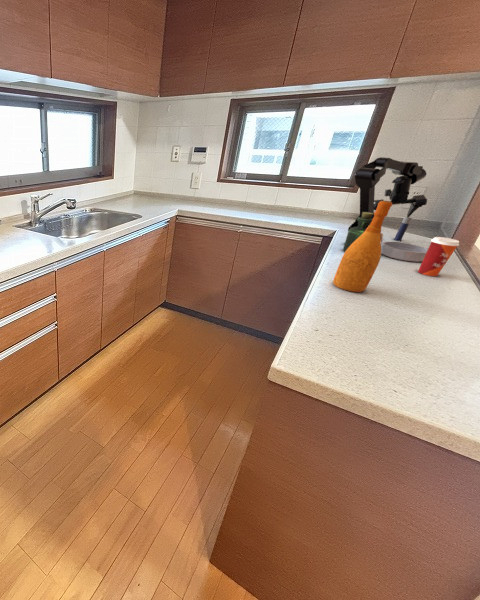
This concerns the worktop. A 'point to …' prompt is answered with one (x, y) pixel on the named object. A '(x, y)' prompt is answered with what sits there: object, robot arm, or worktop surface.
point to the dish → (403, 251)
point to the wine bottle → (362, 254)
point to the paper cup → (437, 255)
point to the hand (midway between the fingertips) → (394, 218)
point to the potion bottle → (357, 229)
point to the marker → (402, 228)
